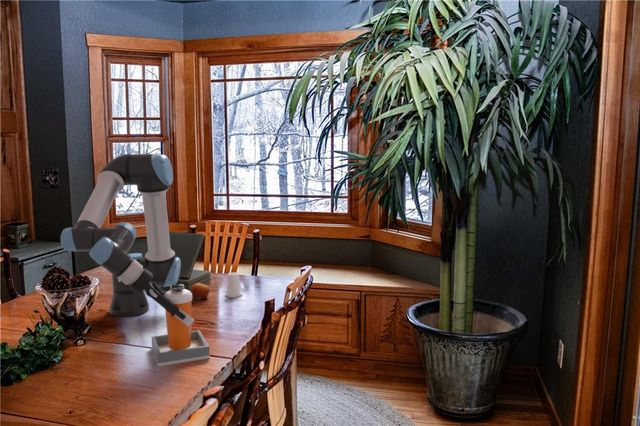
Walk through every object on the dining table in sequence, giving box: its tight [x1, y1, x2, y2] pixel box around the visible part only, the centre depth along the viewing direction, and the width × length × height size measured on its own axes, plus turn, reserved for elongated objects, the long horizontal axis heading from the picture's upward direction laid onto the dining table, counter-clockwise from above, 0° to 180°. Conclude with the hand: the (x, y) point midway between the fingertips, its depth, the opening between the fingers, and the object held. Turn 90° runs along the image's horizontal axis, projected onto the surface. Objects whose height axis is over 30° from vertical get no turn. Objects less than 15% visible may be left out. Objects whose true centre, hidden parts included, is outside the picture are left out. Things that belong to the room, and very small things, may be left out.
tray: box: [151, 329, 211, 367], centre depth 175 cm, size 16×16×4 cm
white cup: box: [224, 271, 243, 298], centre depth 240 cm, size 8×8×10 cm
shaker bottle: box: [164, 284, 193, 350], centre depth 174 cm, size 9×9×20 cm
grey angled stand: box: [159, 231, 212, 292], centre depth 254 cm, size 23×20×25 cm
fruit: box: [191, 283, 211, 302], centre depth 235 cm, size 8×8×8 cm
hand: (189, 318), depth 176 cm, fingers closed on shaker bottle, 9 cm apart
